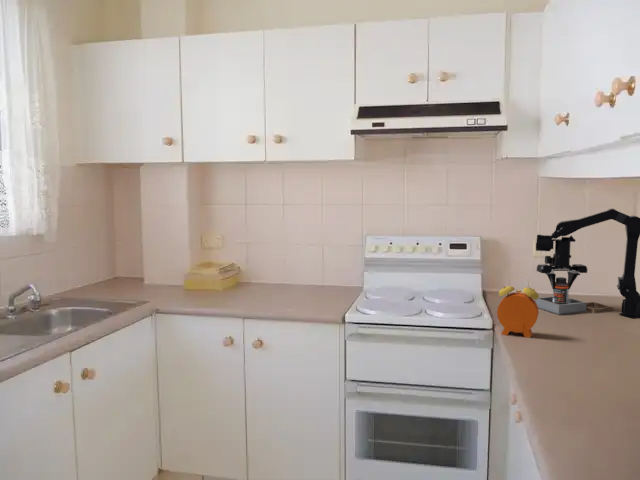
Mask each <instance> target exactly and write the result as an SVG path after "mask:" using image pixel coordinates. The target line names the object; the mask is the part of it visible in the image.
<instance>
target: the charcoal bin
mask: <svg viewBox="0 0 640 480" xmlns="http://www.w3.org/2000/svg"><path fill="white" fill-rule="evenodd" d="M534 301H535V302H536V304H537V306H538V310H541V311H544V312H548V313H551V314H554V315H557V316H565V315H572V314H573V315H574V314H581V313H587V311H586V305H587V303H588V302H586V301H582V300H579V299H574V298H571V297H568V304H561V305H559V304H555V303H553V295H552V296H543V297H538V299H537V300H536V299H534Z"/></svg>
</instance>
